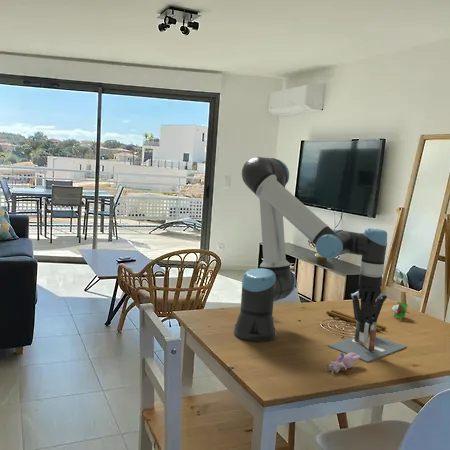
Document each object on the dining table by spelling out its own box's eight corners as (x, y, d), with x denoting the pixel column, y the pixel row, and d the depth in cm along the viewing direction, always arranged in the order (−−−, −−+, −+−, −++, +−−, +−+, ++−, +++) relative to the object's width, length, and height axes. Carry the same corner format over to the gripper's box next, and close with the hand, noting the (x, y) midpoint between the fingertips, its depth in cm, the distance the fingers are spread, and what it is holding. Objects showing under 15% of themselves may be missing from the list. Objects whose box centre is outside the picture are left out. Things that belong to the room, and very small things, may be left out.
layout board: (367, 362, 153) (367, 361, 153) (327, 346, 165) (327, 344, 165) (406, 347, 169) (406, 346, 169) (367, 333, 181) (367, 332, 181)
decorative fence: (375, 335, 182) (388, 330, 189) (376, 330, 182) (389, 326, 188) (322, 316, 201) (336, 313, 207) (322, 312, 200) (336, 309, 207)
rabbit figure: (336, 381, 141) (367, 363, 150) (336, 363, 140) (367, 346, 148) (320, 373, 146) (351, 356, 155) (320, 355, 144) (351, 339, 153)
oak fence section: (357, 341, 169) (359, 322, 168) (362, 341, 170) (364, 322, 169) (370, 351, 161) (372, 331, 160) (374, 351, 161) (377, 331, 160)
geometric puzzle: (398, 308, 212) (395, 296, 207) (413, 312, 207) (410, 300, 203) (391, 320, 208) (388, 308, 204) (406, 324, 203) (403, 312, 199)
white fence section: (358, 343, 169) (361, 318, 168) (353, 340, 171) (355, 317, 170) (376, 337, 177) (379, 314, 176) (370, 335, 179) (373, 312, 178)
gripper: (381, 272, 165) (373, 336, 168) (348, 271, 162) (341, 337, 165) (394, 277, 158) (385, 345, 161) (359, 276, 155) (351, 345, 157)
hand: (363, 341), depth 163 cm, fingers closed
